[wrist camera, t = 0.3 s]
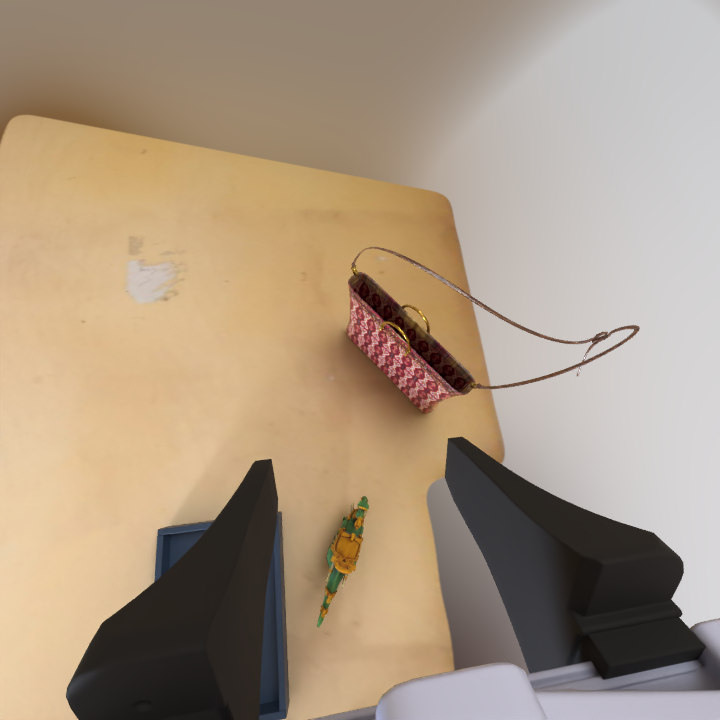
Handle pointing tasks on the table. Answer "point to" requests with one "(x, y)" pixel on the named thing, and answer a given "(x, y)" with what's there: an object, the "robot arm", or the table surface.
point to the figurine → (344, 552)
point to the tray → (274, 648)
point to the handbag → (422, 343)
